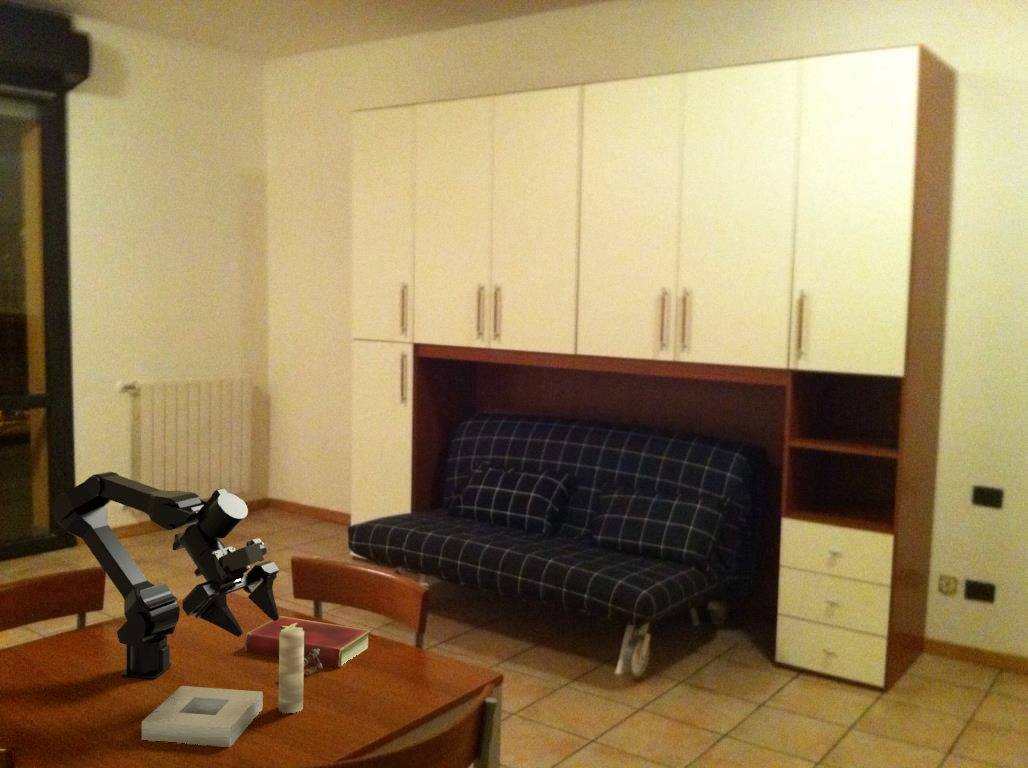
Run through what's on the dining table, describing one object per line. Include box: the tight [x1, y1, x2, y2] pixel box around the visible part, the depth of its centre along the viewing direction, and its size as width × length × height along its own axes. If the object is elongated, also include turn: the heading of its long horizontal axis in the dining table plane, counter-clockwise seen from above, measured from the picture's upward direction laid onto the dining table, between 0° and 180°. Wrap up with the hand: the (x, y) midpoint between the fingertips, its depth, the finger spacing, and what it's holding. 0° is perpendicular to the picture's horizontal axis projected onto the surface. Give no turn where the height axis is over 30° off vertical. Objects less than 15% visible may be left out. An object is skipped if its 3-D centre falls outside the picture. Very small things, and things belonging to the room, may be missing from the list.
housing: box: [141, 685, 264, 748], centre depth 153 cm, size 14×14×3 cm
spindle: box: [278, 629, 305, 715], centre depth 159 cm, size 4×4×13 cm
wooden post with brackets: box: [304, 649, 324, 676], centre depth 174 cm, size 2×8×4 cm, turn 137°
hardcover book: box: [244, 615, 372, 669], centre depth 187 cm, size 12×21×4 cm, turn 71°
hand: (259, 627), depth 162 cm, fingers open, 9 cm apart
